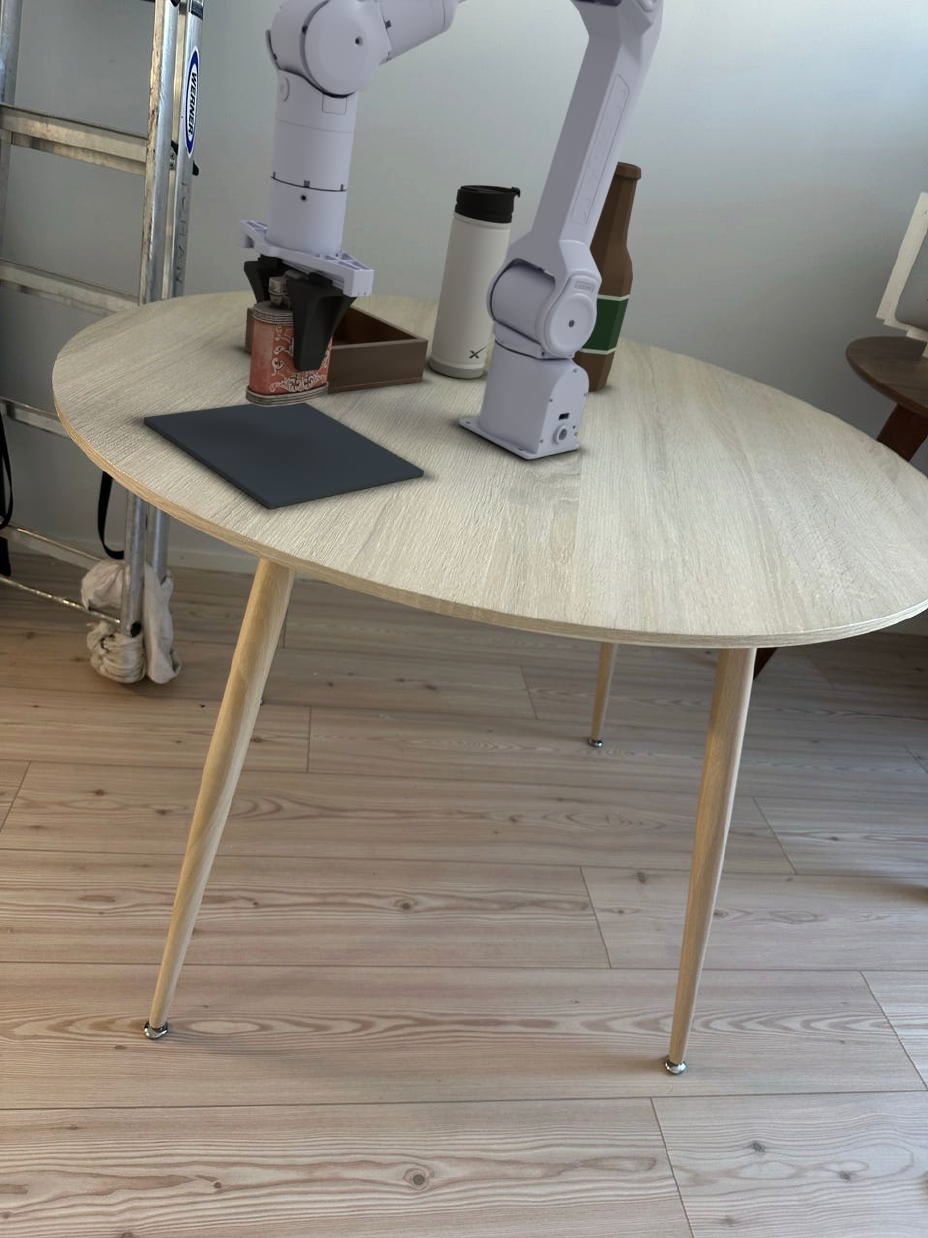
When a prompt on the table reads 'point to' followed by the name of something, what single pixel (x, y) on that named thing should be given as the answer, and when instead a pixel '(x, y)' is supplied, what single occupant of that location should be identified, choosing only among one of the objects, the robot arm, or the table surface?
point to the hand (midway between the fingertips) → (292, 361)
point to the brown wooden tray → (367, 352)
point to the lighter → (280, 353)
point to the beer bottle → (610, 275)
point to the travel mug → (471, 278)
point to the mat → (283, 451)
